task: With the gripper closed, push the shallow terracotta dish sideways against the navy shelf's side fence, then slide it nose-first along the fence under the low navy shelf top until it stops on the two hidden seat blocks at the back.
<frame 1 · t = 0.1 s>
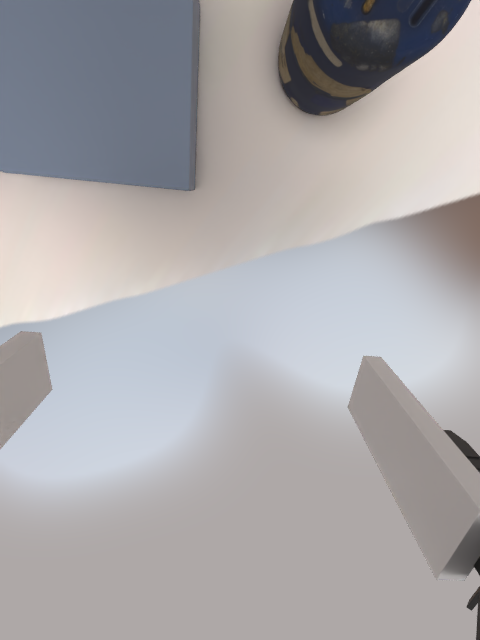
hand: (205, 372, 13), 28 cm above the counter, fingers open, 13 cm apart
canister: (321, 64, 31), on the counter
shelf: (106, 108, 32), on the counter
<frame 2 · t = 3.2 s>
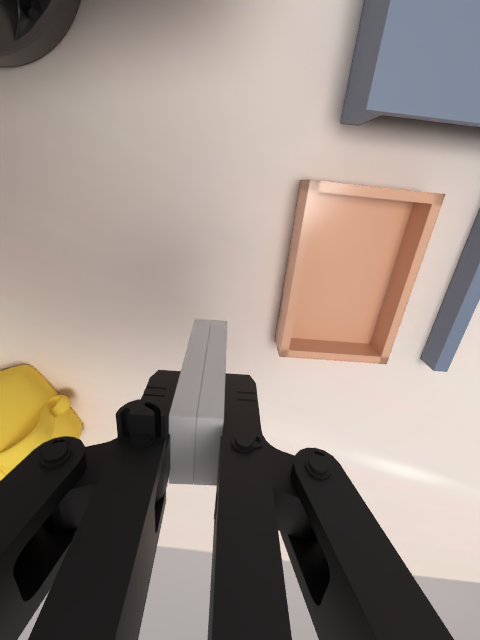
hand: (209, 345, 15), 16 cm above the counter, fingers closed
teapot: (12, 414, 37), on the counter
dish: (340, 273, 30), on the counter
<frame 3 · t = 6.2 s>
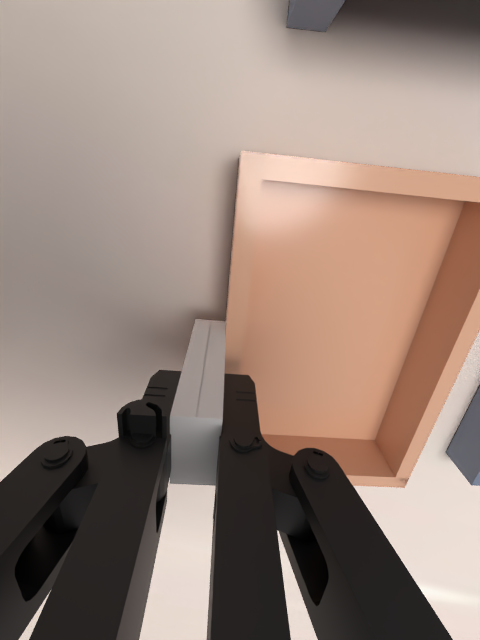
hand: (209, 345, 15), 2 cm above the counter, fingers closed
dish: (323, 329, 17), on the counter, touching gripper
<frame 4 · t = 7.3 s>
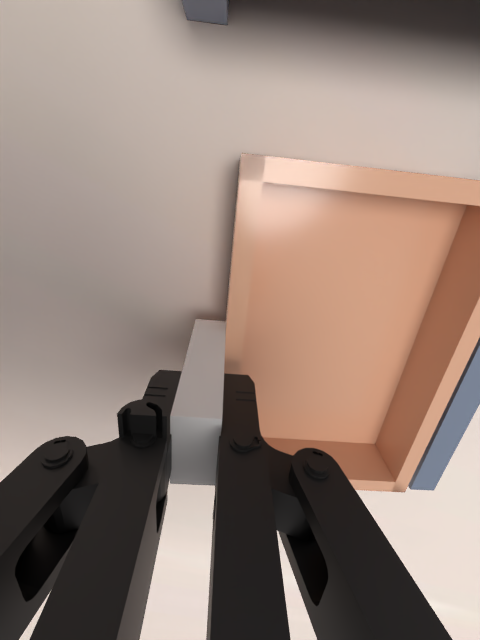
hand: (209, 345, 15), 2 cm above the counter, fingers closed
dish: (323, 332, 17), on the counter, touching gripper
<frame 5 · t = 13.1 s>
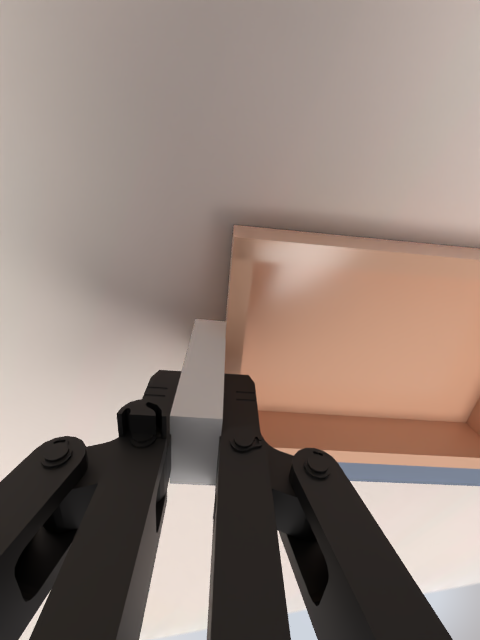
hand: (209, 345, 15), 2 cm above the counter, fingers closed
dish: (367, 340, 17), on the counter, touching gripper
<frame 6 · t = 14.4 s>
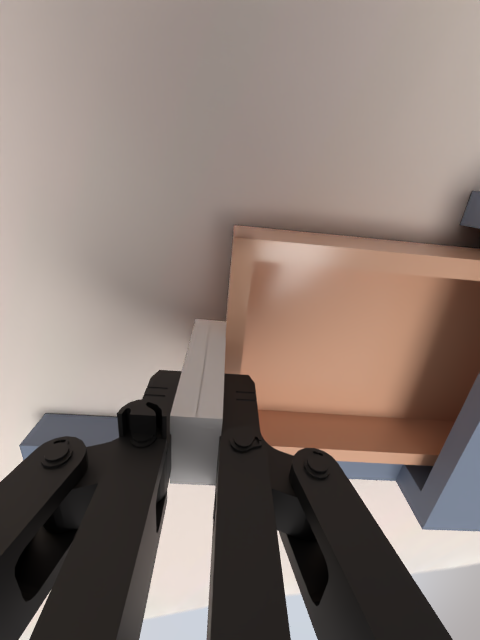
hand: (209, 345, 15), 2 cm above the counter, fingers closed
dish: (367, 340, 17), on the counter, touching gripper
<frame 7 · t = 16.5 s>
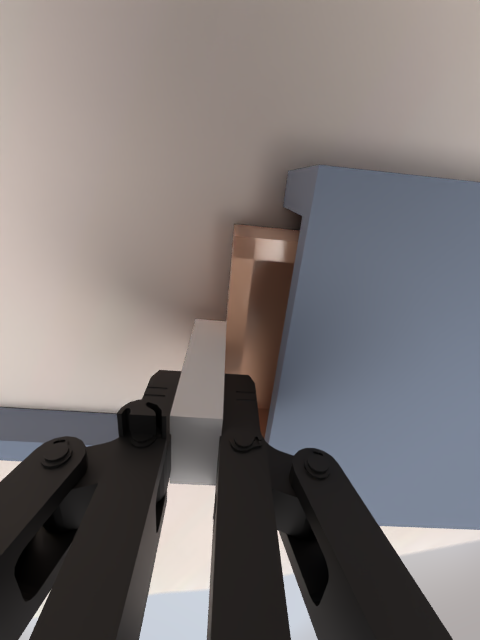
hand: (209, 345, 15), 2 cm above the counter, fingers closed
dish: (367, 339, 17), on the counter, touching gripper
shelf: (407, 357, 18), on the counter
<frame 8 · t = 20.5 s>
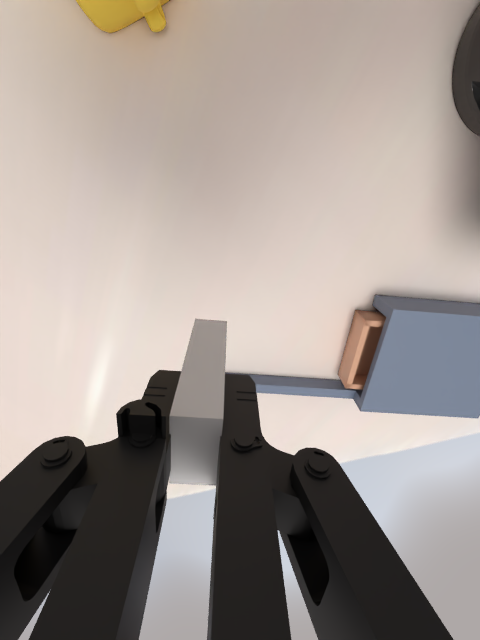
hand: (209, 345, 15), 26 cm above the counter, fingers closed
dish: (397, 347, 46), on the counter
shelf: (412, 354, 46), on the counter
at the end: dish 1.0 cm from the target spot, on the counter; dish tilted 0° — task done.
